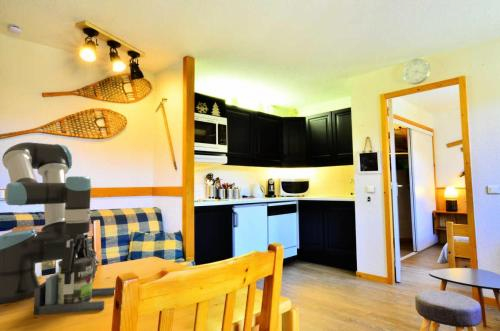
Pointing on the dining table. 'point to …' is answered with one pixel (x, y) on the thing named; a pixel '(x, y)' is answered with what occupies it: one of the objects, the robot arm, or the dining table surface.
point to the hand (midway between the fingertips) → (75, 288)
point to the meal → (93, 255)
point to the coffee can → (77, 282)
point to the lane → (68, 307)
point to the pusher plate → (51, 289)
